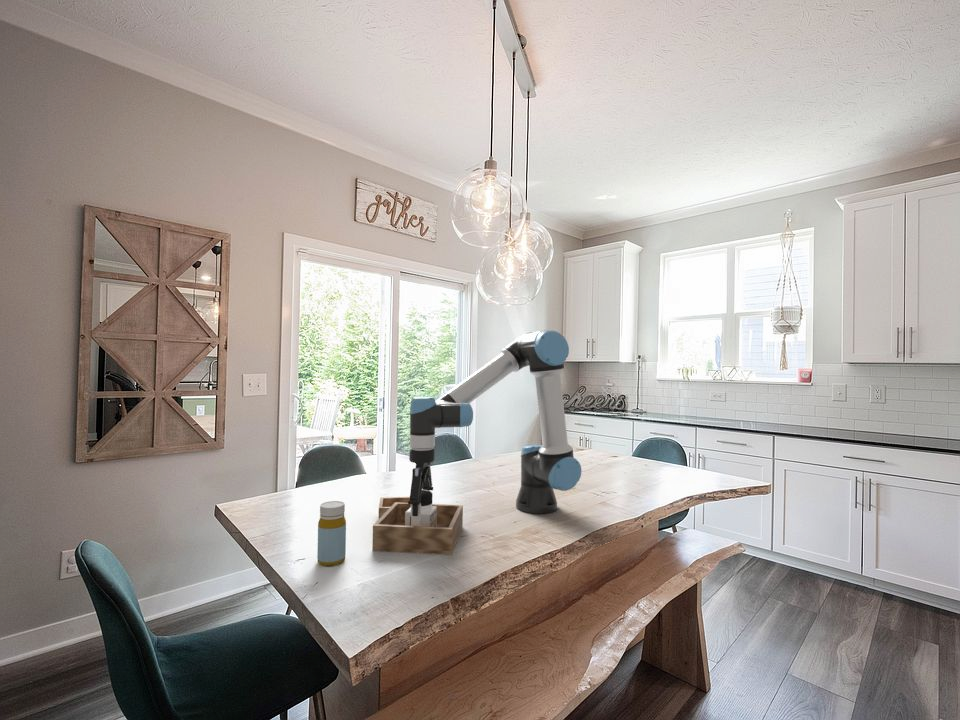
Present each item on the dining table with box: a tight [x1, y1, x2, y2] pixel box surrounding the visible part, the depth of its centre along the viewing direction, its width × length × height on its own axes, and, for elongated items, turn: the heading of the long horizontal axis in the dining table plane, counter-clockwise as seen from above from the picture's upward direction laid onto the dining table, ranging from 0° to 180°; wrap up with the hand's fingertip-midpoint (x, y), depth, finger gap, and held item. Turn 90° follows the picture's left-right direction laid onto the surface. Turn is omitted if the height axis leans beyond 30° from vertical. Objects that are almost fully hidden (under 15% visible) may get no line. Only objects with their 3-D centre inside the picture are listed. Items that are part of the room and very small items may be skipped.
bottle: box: [316, 500, 347, 567], centre depth 122 cm, size 7×7×15 cm
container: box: [405, 489, 437, 527], centre depth 140 cm, size 8×8×13 cm
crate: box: [371, 502, 464, 556], centre depth 140 cm, size 22×22×7 cm
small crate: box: [377, 496, 410, 522], centre depth 156 cm, size 12×12×6 cm
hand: (421, 518), depth 140 cm, fingers open, 13 cm apart
